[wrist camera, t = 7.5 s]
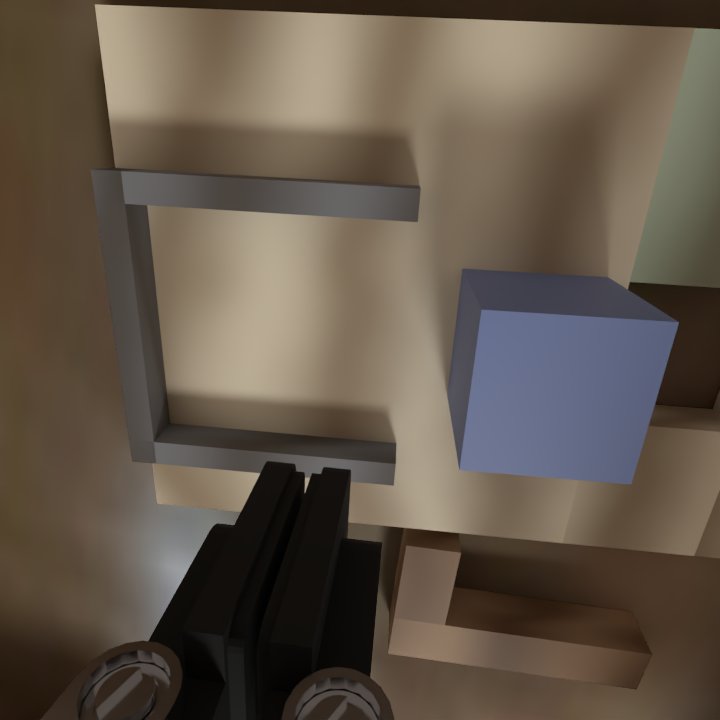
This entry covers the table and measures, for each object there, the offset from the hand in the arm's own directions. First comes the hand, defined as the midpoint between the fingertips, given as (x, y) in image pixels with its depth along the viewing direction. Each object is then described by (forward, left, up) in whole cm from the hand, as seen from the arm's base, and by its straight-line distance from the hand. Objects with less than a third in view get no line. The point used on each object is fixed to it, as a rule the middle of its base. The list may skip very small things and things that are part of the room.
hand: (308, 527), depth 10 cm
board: (-4, -1, -12) cm, 13 cm away
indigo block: (-6, -1, -10) cm, 12 cm away
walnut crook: (-9, +13, -12) cm, 19 cm away
